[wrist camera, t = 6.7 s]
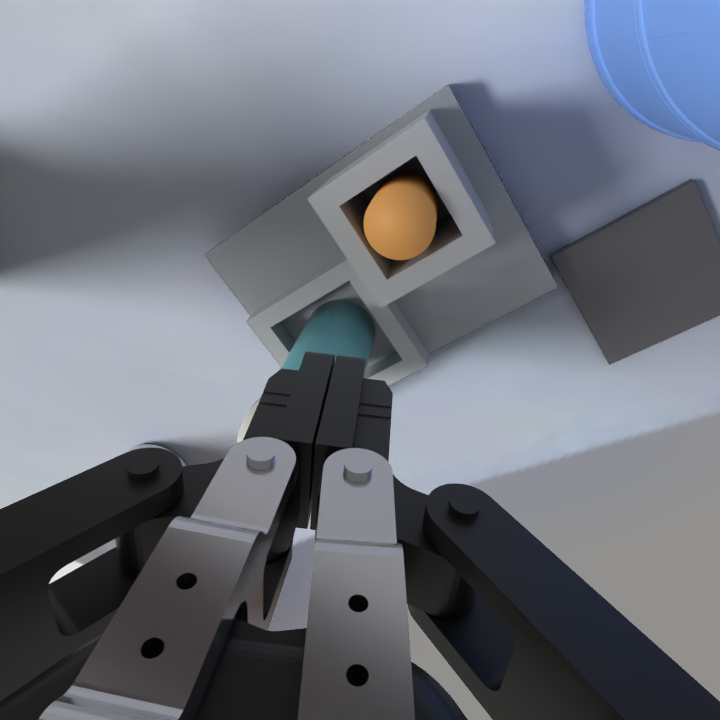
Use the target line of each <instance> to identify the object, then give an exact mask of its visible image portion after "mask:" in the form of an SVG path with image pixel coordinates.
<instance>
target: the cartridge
mask: <svg viewBox="0 0 720 720" xmlns="http://www.w3.org/2000/svg"><path fill="white" fill-rule="evenodd" d="M374 339H375V327H374V323H373V321H372V319H371V317H370V316H369V314H368V313H367V312H366V311H365V310H364V309H363V308H362V307H360V306H359V305H357V304H355V303H353V302H350V301H347V300H331V301H328V302H325V303H323V304H321V305H320V306H319V307H317V308H316V309H315V310H314V312H313V313H312V315H311V317H310V318H309V320H308V322H307V323H306V325H305V327H304V329H303V330H302V332H301V334H300V336H299V337H298V339H297V341H296V343H295V344H294V346H293V348H292V349H291V351H290V353H289V355H288V356H287V358H286V360H285V362H284V363H283V365H282V367H281V369H291V370H299V368H300V366H301V363H302V360H303V357H304V354H305V352H306V351H307V352H316V353H324V354H333V355H335V361H336V357H337V355H340V356H349V357H358V358H366V364H365V371H366V367H367V364H368V360H369V357H370V353H371V350H372V347H373V343H374ZM281 369H280V370H281ZM259 401H260V399H259V400H257V401H256V402H255V403H254V405H253V406H252V407H251V409H250V410H249V412H248V414H247V415H246V417H245V419H244V420H243V422H242V424H241V426H240V428H239V431H238V436H237V443H239V442H241V441H243V439H244V436H245V434H246V432H247V429H248V427H249V425H250V422H251V420H252V417H253V415H254V413H255V410H256V408H257V406H258V405H259Z"/></svg>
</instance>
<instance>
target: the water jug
mask: <svg viewBox="0 0 720 720" xmlns="http://www.w3.org/2000/svg"><path fill="white" fill-rule="evenodd" d="M585 21H586V31H587V38H588V43H589V48H590V51H591V55H592V58H593V61H594V64H595V66H596V69H597V71H598V73H599V75H600V77H601V79H602V81H603V83H604V85H605V86H606V88H607V89H608V91H609V92H610V94H611V95H612V96H613V98H614V99H615V100H616V101H617V102H618V103H619V104H620V106H621V107H622V108H624V109H625V110H626V111H627V112H628V113H629V114H630V115H632V116H633V117H634V118H636V119H637V120H638V121H640V122H642V123H643V124H645V125H647V126H649V127H650V128H652V129H655V130H657V131H659V132H662V133H665V134H668V135H671V136H674V137H677V138H681V139H685V140H690V141H695V142H703V143H704V144H707V145H709V146H711V147H713V148H716V149H718V150H720V0H585Z"/></svg>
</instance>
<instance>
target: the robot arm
mask: <svg viewBox="0 0 720 720" xmlns="http://www.w3.org/2000/svg"><path fill="white" fill-rule="evenodd" d="M365 364H366V358H358V357H349V356H340V355H337V357H336V361H335V355H333V354H324V353H316V352H307V351H306V352H305V354H304V357H303V360H302V363H301V366H300V368H299V370H291V369H281V370H279V371H278V372H277V373H275V374H274V375H273V376H272V377H270V378H269V379H268V382H267V384H266V387H265V389H264V391H263V394H262V396H261V398H260V401H259V405H258V406H257V408H256V410H255V413H254V415H253V417H252V420H251V422H250V425H249V427H248V429H247V432H246V434H245V436H244V439H243V441H241V442H239V443H237V444H236V445H234V446H233V447H232V448H231V449H230V450H229V451H228V453H227V455H226V456H225V458H224V459H221V460H219V461H216V462H212V463H207V464H200V465H190V466H182V463H181V461H180V459H179V457H178V456H177V455H176V454H174V453H173V452H171V451H169V450H166V449H162V448H151V447H150V448H141V449H136V450H132V451H129V452H127V453H124V454H122V455H120V456H118V457H115V458H113V459H111V460H109V461H107V462H104V463H102V464H100V465H98V466H95V467H93V468H91V469H89V470H87V471H84V472H82V473H80V474H78V475H75V476H73V477H71V478H69V479H67V480H64V481H62V482H60V483H58V484H55V485H53V486H51V487H49V488H47V489H44V490H42V491H40V492H38V493H35V494H33V495H31V496H29V497H27V498H24V499H22V500H20V501H18V502H15V503H13V504H11V505H9V506H7V507H4V508H2V509H0V720H467V718H466V717H465V715H464V714H463V713H462V711H461V710H460V708H459V707H458V706H457V704H456V703H455V701H454V700H453V699H452V697H451V696H450V695H449V694H448V693H447V692H446V691H445V690H444V688H443V687H442V686H441V685H440V684H439V683H438V682H437V681H436V680H435V679H434V678H432V677H431V676H430V675H429V674H428V673H426V672H425V671H424V670H423V669H421V668H420V667H418V666H417V665H416V664H414V663H412V662H411V655H410V641H409V626H408V613H407V604H408V608H409V611H410V614H411V616H412V617H413V619H414V620H415V621H416V623H417V624H418V625H419V626H420V628H421V629H422V630H423V632H424V633H425V634H426V635H427V637H428V638H429V639H430V640H431V642H432V643H433V644H434V646H435V647H436V648H437V649H438V651H439V652H440V653H441V654H442V656H443V657H444V658H445V659H446V660H447V662H448V663H449V665H450V666H451V667H452V668H453V670H454V671H455V672H456V673H457V675H458V676H459V677H460V678H461V680H462V681H463V682H464V684H465V685H466V686H467V687H468V689H469V690H470V691H471V693H472V694H473V695H474V696H475V698H476V699H477V700H478V701H479V703H480V704H481V705H482V706H483V708H484V709H485V710H486V712H487V713H488V714H489V715H490V717H491V718H492V719H493V720H720V702H719V701H718V700H717V699H716V698H715V697H714V696H713V695H712V694H710V693H709V692H708V691H707V690H706V689H705V688H704V687H703V686H702V685H700V684H699V683H698V682H697V681H696V680H695V679H694V678H693V677H691V676H690V675H689V674H688V673H687V672H686V671H685V670H683V669H682V668H681V667H680V666H679V665H678V664H677V663H676V662H675V661H674V660H672V659H671V658H670V657H669V656H668V655H667V654H666V653H664V652H663V651H662V650H661V649H660V648H659V647H658V646H657V645H656V644H654V643H653V642H652V641H651V640H650V639H649V638H648V637H647V636H645V635H644V634H643V633H642V632H641V631H640V630H639V629H638V628H637V627H635V626H634V625H633V624H632V623H631V622H630V621H629V620H628V619H626V618H625V617H624V616H623V615H622V614H621V613H620V612H619V611H617V610H616V609H615V608H614V607H613V606H612V605H611V604H610V603H609V602H607V601H606V600H605V599H604V598H603V597H602V596H601V595H600V594H598V593H597V592H596V591H595V590H594V589H593V588H592V587H591V586H589V585H588V584H587V583H586V582H585V581H584V580H583V579H582V578H580V577H579V576H578V575H577V574H576V573H575V572H574V571H573V570H571V569H570V568H569V567H568V566H567V565H566V564H565V563H563V562H562V561H561V560H560V559H559V558H558V557H557V556H556V555H555V554H554V553H552V552H551V551H550V550H549V549H548V548H547V547H545V545H543V544H542V543H541V542H540V541H539V540H538V539H537V538H536V537H534V536H533V535H532V534H531V533H530V532H529V531H528V530H527V529H526V528H524V527H523V526H522V525H521V524H520V523H519V522H518V521H516V520H515V519H514V518H513V517H512V516H511V515H510V514H509V513H508V512H506V511H505V510H504V509H503V508H502V507H501V506H500V505H498V504H497V503H496V502H495V501H494V500H493V499H492V498H491V497H490V496H488V495H487V494H486V493H484V492H483V491H481V490H479V489H477V488H475V487H472V486H469V485H464V484H446V485H442V486H439V487H438V488H436V489H434V490H433V491H432V492H431V493H430V494H429V495H426V494H423V493H421V492H418V491H415V490H413V489H411V488H409V487H407V486H405V485H404V484H402V483H401V482H400V481H399V480H398V479H397V478H396V477H395V476H394V475H393V472H392V468H391V466H390V464H389V463H388V457H389V442H390V426H391V410H392V394H393V393H392V392H391V390H390V388H389V387H388V385H387V384H386V382H385V381H383V380H375V379H366V378H364V374H365ZM310 514H311V526H310V529H312V530H316V531H315V546H314V558H313V568H312V578H311V588H310V599H309V609H308V619H307V628H304V629H295V630H285V631H268V629H269V626H270V623H271V620H272V617H273V614H274V611H275V608H276V605H277V602H278V599H279V596H280V593H281V590H282V587H283V584H284V581H285V578H286V575H287V572H288V569H289V566H290V563H291V560H292V551H293V536H294V532H295V528H296V527H297V528H305V529H307V527H308V523H309V518H310ZM114 539H115V541H116V547H115V548H113V549H111V550H109V551H107V552H106V553H104V554H102V555H100V556H98V557H97V558H95V559H93V560H91V561H89V562H88V563H86V564H84V565H82V566H80V567H79V568H77V569H75V570H73V571H71V572H70V573H68V574H66V575H64V576H63V577H61V578H59V579H57V580H55V581H54V582H52V583H50V584H49V582H50V580H51V579H52V577H53V576H54V575H55V574H56V573H57V572H58V571H59V570H60V569H62V568H63V567H65V566H66V565H68V564H70V563H72V562H73V561H75V560H77V559H79V558H81V557H83V556H84V555H86V554H88V553H90V552H92V551H93V550H95V549H97V548H99V547H101V546H103V545H104V544H106V543H108V542H110V541H112V540H114Z"/></svg>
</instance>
